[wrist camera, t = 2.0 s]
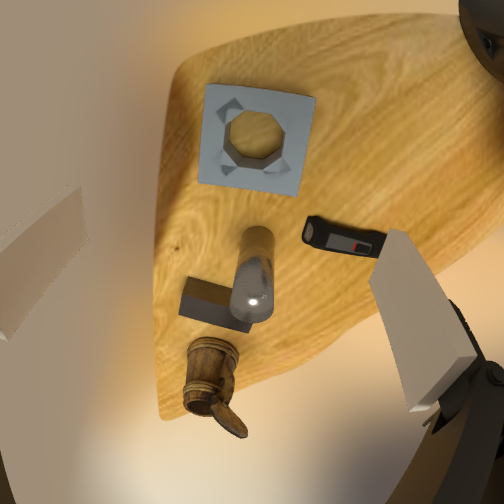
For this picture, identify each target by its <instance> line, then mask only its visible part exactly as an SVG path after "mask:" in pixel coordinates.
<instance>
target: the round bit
mask: <svg viewBox="0 0 504 504" xmlns="http://www.w3.org/2000/svg"><path fill="white" fill-rule="evenodd" d="M274 248H275V239H274V236H273V234H272V232H271V231H270V230H269V229H267V228H265V227H262V226H254V227H251V228H249V229H247V230H246V231H245V232H244V234H243V236H242V241H241V246H240V252H239V257H238V262H237V268H236V273H235V278H234V284H233V289H232V294H231V300H230V311H231V313H232V314H233V316H234V317H236V318H237V319H238V320H240V321H243V322H246V323H260V322H263V321H265V320H267V319H268V318H269V317H270V316H271V315H272V313H273V310H274Z"/></svg>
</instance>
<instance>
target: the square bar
mask: <svg viewBox="0 0 504 504" xmlns="http://www.w3.org/2000/svg"><path fill="white" fill-rule="evenodd" d="M231 294H232V288H228V287H225V286H221V285H217V284H214V283H210V282H207V281H203V280H200V279H196V278H193V277H188V280H187V282H186V285H185V288H184V290H183V293H182V297H181V303H180V308H179V314H178V315H181V316H184V317H188V318H191V319H195V320H199V321H202V322H206V323H209V324H213V325H217V326H221V327H224V328H228V329H232V330H236V331H240V332H244V333H249V331H250V329H251V327H252V324H253V323H246V322H243V321H240V320H238V319H237V318H236V317H234V316H233V314H232V313H231V311H230V300H231Z"/></svg>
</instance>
